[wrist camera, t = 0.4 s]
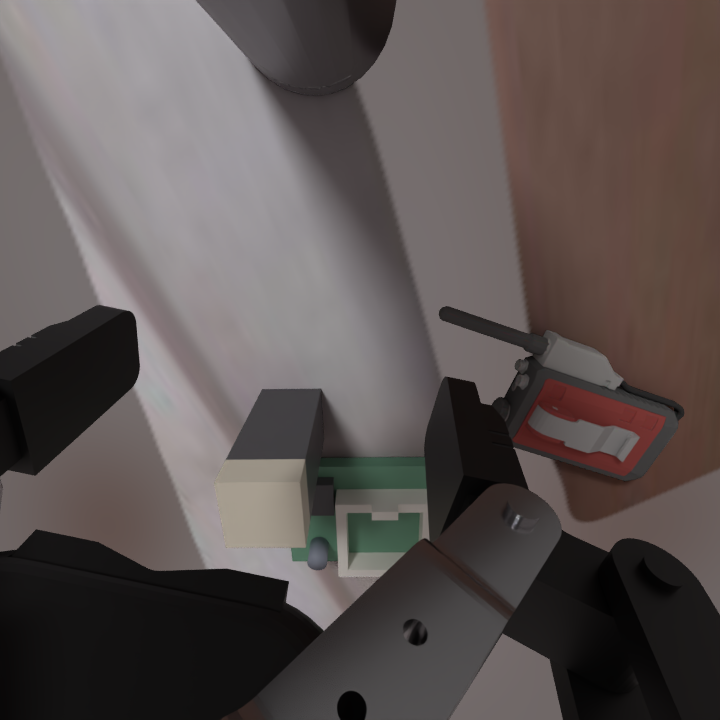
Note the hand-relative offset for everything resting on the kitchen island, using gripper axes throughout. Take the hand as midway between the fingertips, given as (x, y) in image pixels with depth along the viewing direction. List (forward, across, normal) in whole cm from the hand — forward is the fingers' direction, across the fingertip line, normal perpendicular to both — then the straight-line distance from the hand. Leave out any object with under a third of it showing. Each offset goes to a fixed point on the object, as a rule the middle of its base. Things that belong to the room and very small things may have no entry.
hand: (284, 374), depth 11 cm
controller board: (+17, -5, +22) cm, 28 cm away
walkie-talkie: (+20, -16, +9) cm, 27 cm away
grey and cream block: (+17, +2, +14) cm, 23 cm away
